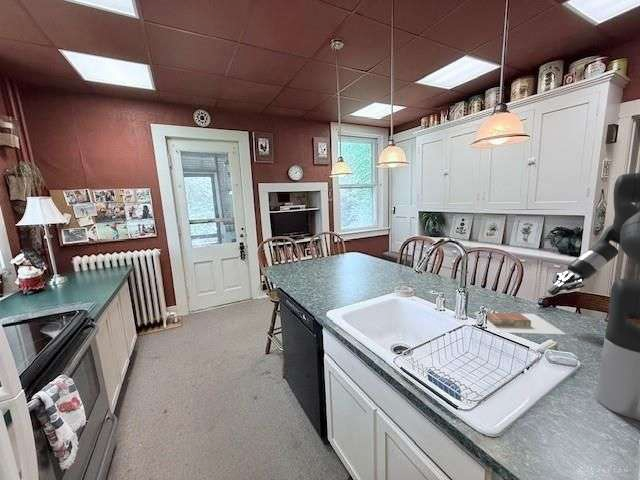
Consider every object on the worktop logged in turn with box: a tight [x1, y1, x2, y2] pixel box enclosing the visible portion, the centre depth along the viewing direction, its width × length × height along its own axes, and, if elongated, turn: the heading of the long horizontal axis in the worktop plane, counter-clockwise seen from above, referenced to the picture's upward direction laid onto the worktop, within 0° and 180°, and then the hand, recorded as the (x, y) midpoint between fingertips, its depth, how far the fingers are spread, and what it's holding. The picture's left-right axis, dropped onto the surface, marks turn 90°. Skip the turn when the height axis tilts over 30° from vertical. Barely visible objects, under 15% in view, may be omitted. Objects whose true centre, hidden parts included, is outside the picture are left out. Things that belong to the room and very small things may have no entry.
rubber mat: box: [473, 312, 567, 335], centre depth 112 cm, size 26×18×1 cm
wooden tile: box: [486, 312, 531, 327], centre depth 112 cm, size 3×7×14 cm
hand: (550, 293), depth 109 cm, fingers closed
